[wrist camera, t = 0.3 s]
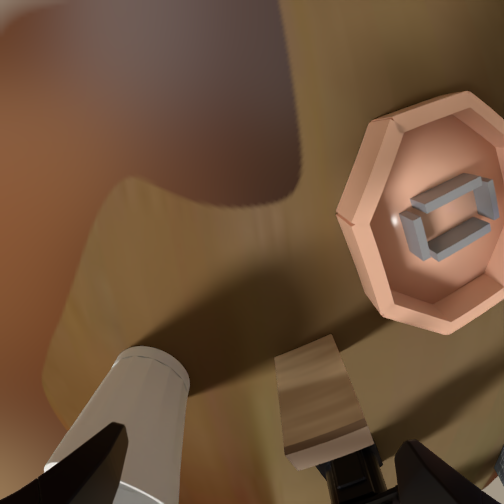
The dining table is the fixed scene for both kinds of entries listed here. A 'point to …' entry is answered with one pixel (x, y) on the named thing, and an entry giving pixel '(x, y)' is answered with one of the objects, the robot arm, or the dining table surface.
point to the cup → (139, 423)
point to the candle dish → (429, 212)
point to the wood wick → (318, 405)
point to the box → (500, 466)
